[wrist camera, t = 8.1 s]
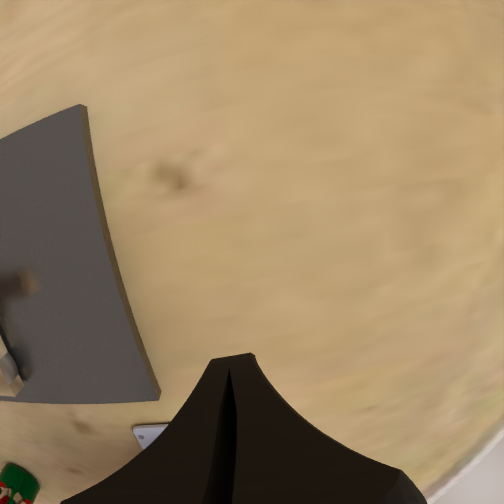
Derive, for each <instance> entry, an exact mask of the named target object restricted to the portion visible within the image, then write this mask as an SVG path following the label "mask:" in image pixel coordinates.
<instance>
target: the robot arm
mask: <svg viewBox="0 0 504 504" xmlns="http://www.w3.org/2000/svg"><path fill="white" fill-rule="evenodd" d="M133 433H134V435H135V437H136V439H137V440H138V442H139V444H140V445H141V447H142V449H143V451H142V452H140V453H139V454H138V455H137V456H136V457H135V458H133V459H132V460H131V461H130V462H129V463H127V464H126V465H125V466H123V467H122V468H121V469H119V470H118V471H116V472H115V473H113V474H112V475H110V476H109V477H107V478H106V479H104V480H103V481H101V482H99V483H97V484H96V485H94V486H92V487H90V488H88V489H86V490H84V491H82V492H80V493H78V494H76V495H74V496H72V497H70V498H68V499H66V500H63V501H61V503H60V504H427V501H426V500H425V498H424V496H423V495H422V493H421V492H420V491H419V489H418V488H417V487H416V486H415V484H414V483H413V482H412V481H411V480H410V479H409V477H408V476H407V475H406V474H405V473H404V472H403V471H402V470H400V469H397V468H394V467H391V466H388V465H385V464H382V463H380V462H377V461H375V460H373V459H370V458H368V457H366V456H363V455H361V454H359V453H357V452H355V451H353V450H351V449H349V448H347V447H346V446H344V445H342V444H341V443H339V442H337V441H336V440H334V439H332V438H331V437H329V436H327V435H326V434H324V433H323V432H321V431H320V430H318V429H317V428H316V427H314V426H313V425H312V424H310V423H309V422H308V421H307V420H306V419H304V418H303V417H302V416H301V415H300V414H298V413H297V412H296V411H295V410H294V409H293V408H292V407H291V406H290V405H289V404H288V403H287V402H286V401H285V400H284V399H283V398H282V397H281V396H280V394H279V393H278V392H277V391H276V390H275V388H274V387H273V386H272V385H271V383H270V382H269V381H268V379H267V378H266V377H265V375H264V374H263V372H262V370H261V369H260V367H259V365H258V363H257V361H256V358H255V355H254V354H252V353H246V354H240V355H234V356H228V357H222V358H216V359H212V360H211V361H210V362H209V364H208V366H207V368H206V369H205V371H204V373H203V375H202V377H201V378H200V380H199V382H198V383H197V385H196V387H195V388H194V390H193V391H192V393H191V394H190V396H189V398H188V399H187V401H186V402H185V403H184V405H183V406H182V408H181V409H180V410H179V412H178V413H177V414H176V416H175V417H174V418H173V420H172V421H171V422H170V423H169V424H159V425H140V426H135V427H134V428H133ZM141 435H142V436H141Z"/></svg>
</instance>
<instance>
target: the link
mask: <svg viewBox="0 0 504 504" xmlns="http://www.w3.org/2000/svg"><path fill="white" fill-rule="evenodd" d="M23 386H24V384H23V382H22V380H21V378H20V376H19V373H18V368H17V365H16V363H15V361H14V359H13V358H12V356H11V355H10V354H9V353H8V351H7V349H6V347H5V345H4V342H3V340H2V338H1V335H0V395H1V396H13V397H15V396H16V395H17V394H18V392H19V391H20V390H21V389H22V387H23Z"/></svg>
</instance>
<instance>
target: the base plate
mask: <svg viewBox="0 0 504 504" xmlns="http://www.w3.org/2000/svg"><path fill="white" fill-rule="evenodd" d="M0 335H1V338H2V340H3V342H4V345H5V347H6V349H7V351H8V353H9V354H10V355H11V356H12V358H13V359H14V361H15V363H16V365H17V368H18V373H19V376H20V378H21V380H22V382H23V384H24V386H23V387H22V389H21V390H20V391H19V392H18V394H17V395H16V396H15V397H13V396H1V395H0V400H1V401H13V402H28V403H49V404H106V403H129V402H145V401H158V400H159V398H160V395H161V390H160V387H159V385H158V382H157V380H156V377H155V375H154V372H153V370H152V367H151V365H150V362H149V359H148V357H147V354H146V351H145V349H144V346H143V343H142V340H141V337H140V335H139V332H138V329H137V326H136V323H135V320H134V317H133V314H132V311H131V308H130V305H129V301H128V298H127V295H126V292H125V288H124V285H123V282H122V278H121V275H120V271H119V268H118V264H117V260H116V257H115V253H114V249H113V245H112V241H111V237H110V233H109V229H108V225H107V221H106V216H105V212H104V207H103V203H102V198H101V193H100V188H99V183H98V178H97V172H96V167H95V161H94V155H93V149H92V143H91V136H90V129H89V121H88V113H87V107H86V106H84V105H81V104H78V105H76V106H73V107H70V108H68V109H65V110H63V111H60V112H58V113H56V114H53V115H51V116H48V117H46V118H44V119H42V120H39V121H37V122H35V123H33V124H31V125H28V126H26V127H24V128H22V129H20V130H18V131H16V132H14V133H12V134H10V135H8V136H6V137H4V138H2V139H0Z"/></svg>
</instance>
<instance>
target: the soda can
mask: <svg viewBox="0 0 504 504" xmlns="http://www.w3.org/2000/svg"><path fill="white" fill-rule="evenodd" d="M39 490H40V488H39V485H38V482H37V481H36V479H35V478H34V477H33V476H32V475H31V474H30V473H29V472H27V471H26V470H25V469H23V468H21V467H19V466H17V465H15V464H6V465H5V466H4V467H3V469H2V471H1V473H0V504H33V503H34V501H35V499H36V496H37V494H38V492H39Z"/></svg>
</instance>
